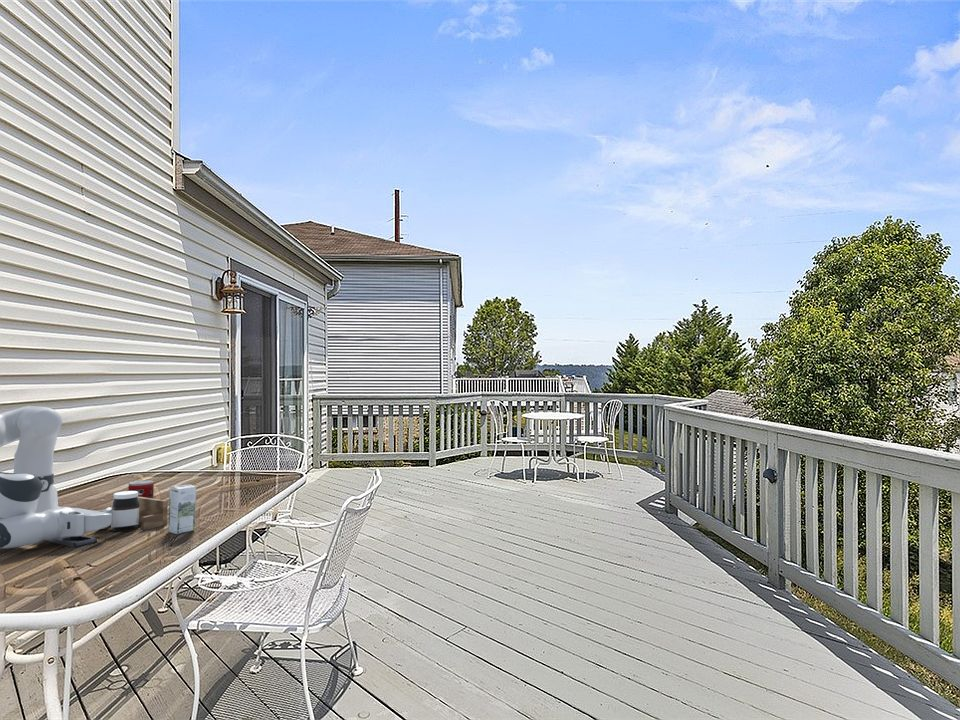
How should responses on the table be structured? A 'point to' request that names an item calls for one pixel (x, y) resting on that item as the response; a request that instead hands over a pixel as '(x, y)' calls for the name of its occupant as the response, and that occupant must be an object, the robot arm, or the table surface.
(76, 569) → the table surface
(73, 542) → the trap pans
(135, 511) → the spread jar
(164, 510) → the brown box
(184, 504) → the syrup box
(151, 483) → the canned food
